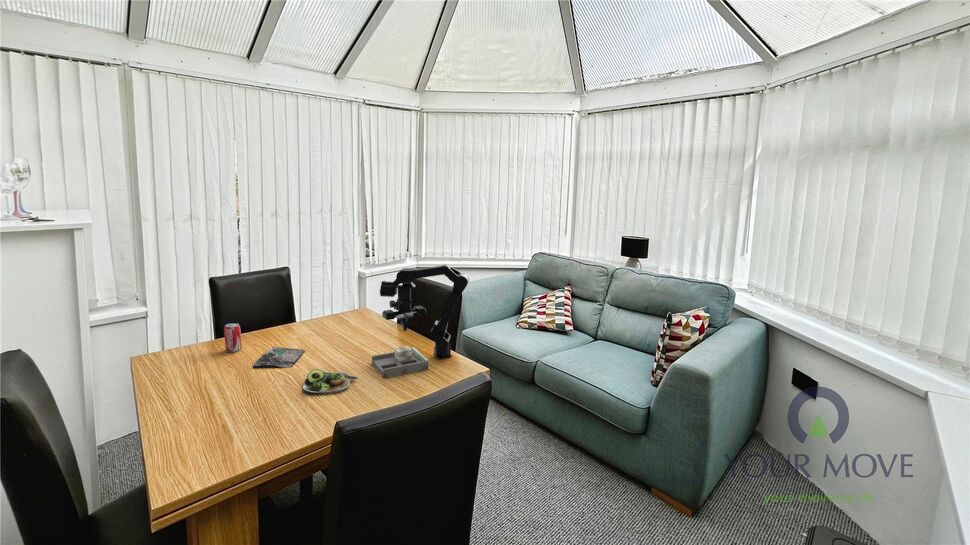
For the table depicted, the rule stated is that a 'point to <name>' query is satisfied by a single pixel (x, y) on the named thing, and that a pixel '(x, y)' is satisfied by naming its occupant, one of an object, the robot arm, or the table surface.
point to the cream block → (403, 353)
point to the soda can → (232, 337)
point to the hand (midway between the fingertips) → (404, 331)
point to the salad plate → (326, 382)
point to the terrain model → (279, 358)
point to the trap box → (399, 364)
